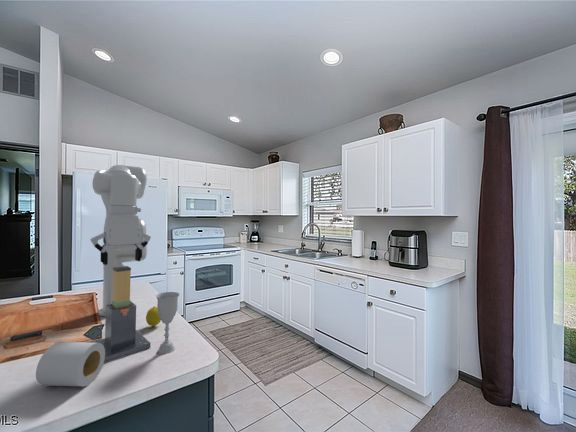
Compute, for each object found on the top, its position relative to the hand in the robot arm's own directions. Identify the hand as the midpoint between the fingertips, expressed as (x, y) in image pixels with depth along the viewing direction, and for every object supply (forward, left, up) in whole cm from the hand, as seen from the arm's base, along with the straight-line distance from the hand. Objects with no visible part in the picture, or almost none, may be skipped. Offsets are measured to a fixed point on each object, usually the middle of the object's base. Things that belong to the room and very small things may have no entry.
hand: (121, 262), depth 89 cm
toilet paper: (+13, -14, -28) cm, 34 cm away
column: (+1, 0, -21) cm, 21 cm away
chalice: (+13, +10, -28) cm, 33 cm away
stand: (+1, 0, -28) cm, 28 cm away
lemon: (-8, +14, -28) cm, 33 cm away
